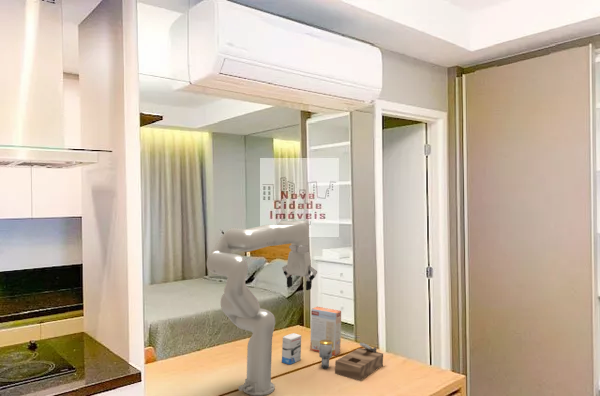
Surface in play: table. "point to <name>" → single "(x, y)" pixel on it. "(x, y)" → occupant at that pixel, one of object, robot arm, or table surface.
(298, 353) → the ink box
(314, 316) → the cracker box
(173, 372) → the table surface
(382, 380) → the table surface
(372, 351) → the keeper bar
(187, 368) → the table surface
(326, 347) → the gold-lidded jar
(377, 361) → the block
